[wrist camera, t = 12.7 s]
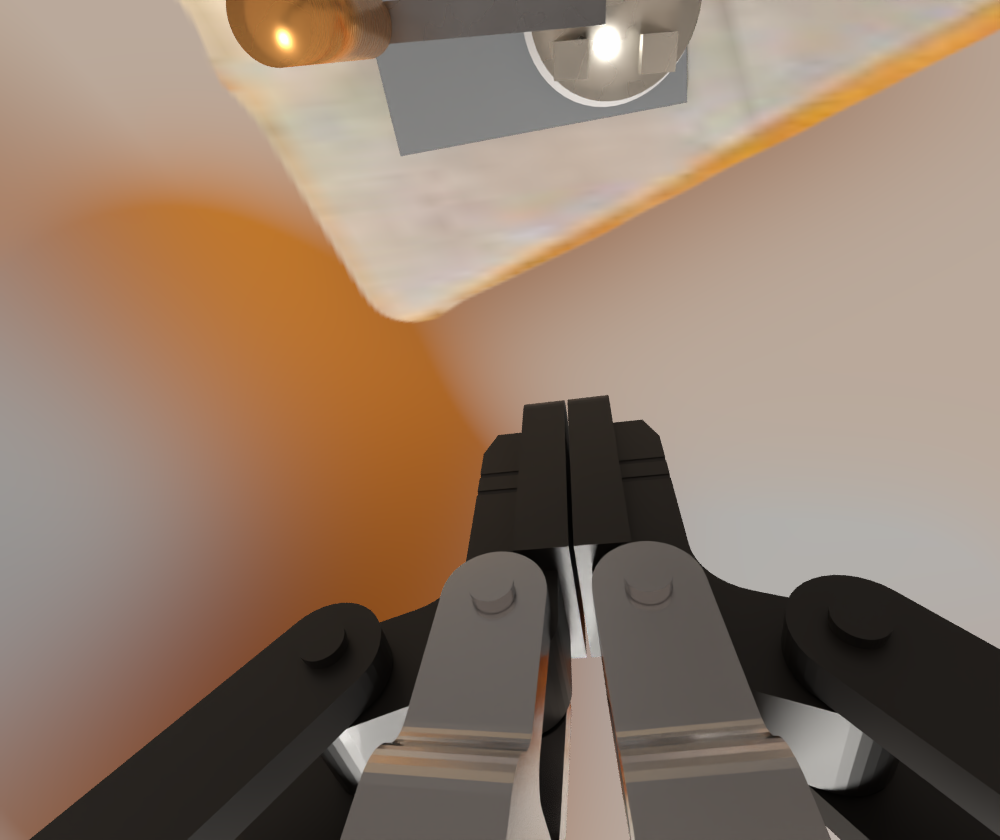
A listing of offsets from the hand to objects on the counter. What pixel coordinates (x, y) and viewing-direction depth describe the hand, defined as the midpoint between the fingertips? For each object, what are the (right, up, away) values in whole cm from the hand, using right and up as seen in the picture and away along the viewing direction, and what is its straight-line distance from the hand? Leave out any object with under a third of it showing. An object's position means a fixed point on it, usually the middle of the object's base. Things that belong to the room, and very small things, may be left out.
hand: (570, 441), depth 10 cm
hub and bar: (0, +24, +22) cm, 32 cm away
